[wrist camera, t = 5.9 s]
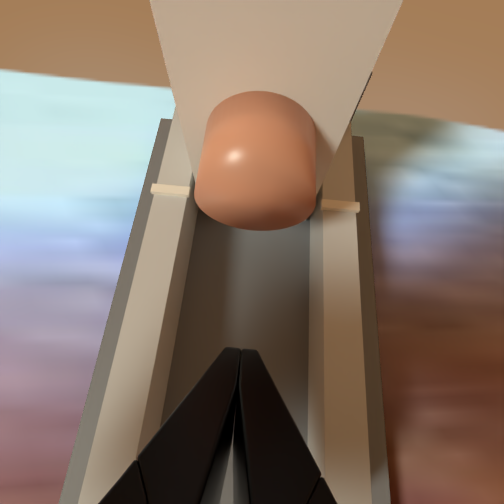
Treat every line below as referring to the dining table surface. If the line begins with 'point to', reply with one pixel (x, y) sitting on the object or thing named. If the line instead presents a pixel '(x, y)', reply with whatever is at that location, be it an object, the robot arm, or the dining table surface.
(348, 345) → the station
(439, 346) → the dining table surface
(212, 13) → the plug
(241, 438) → the robot arm
